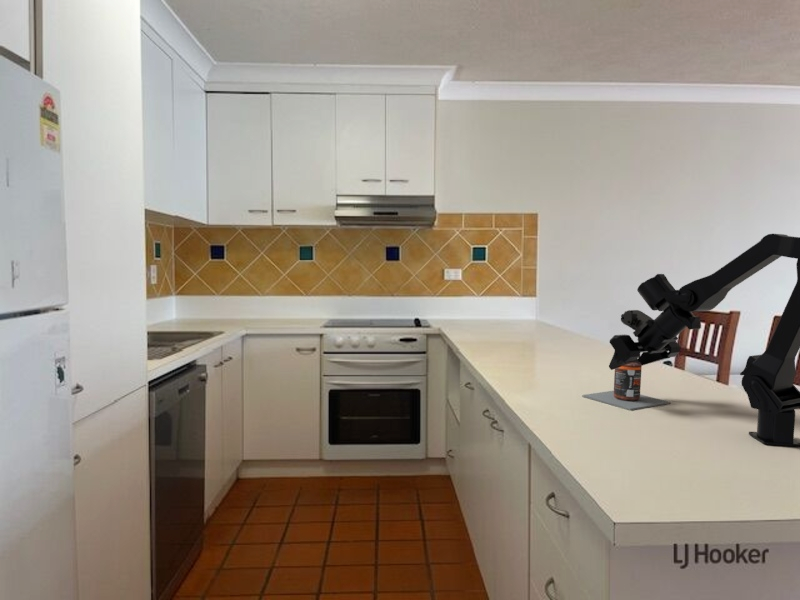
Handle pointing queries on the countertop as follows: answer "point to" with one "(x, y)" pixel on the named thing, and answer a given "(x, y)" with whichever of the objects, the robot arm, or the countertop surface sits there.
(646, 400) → the mat
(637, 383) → the supplement bottle
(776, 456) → the countertop surface
